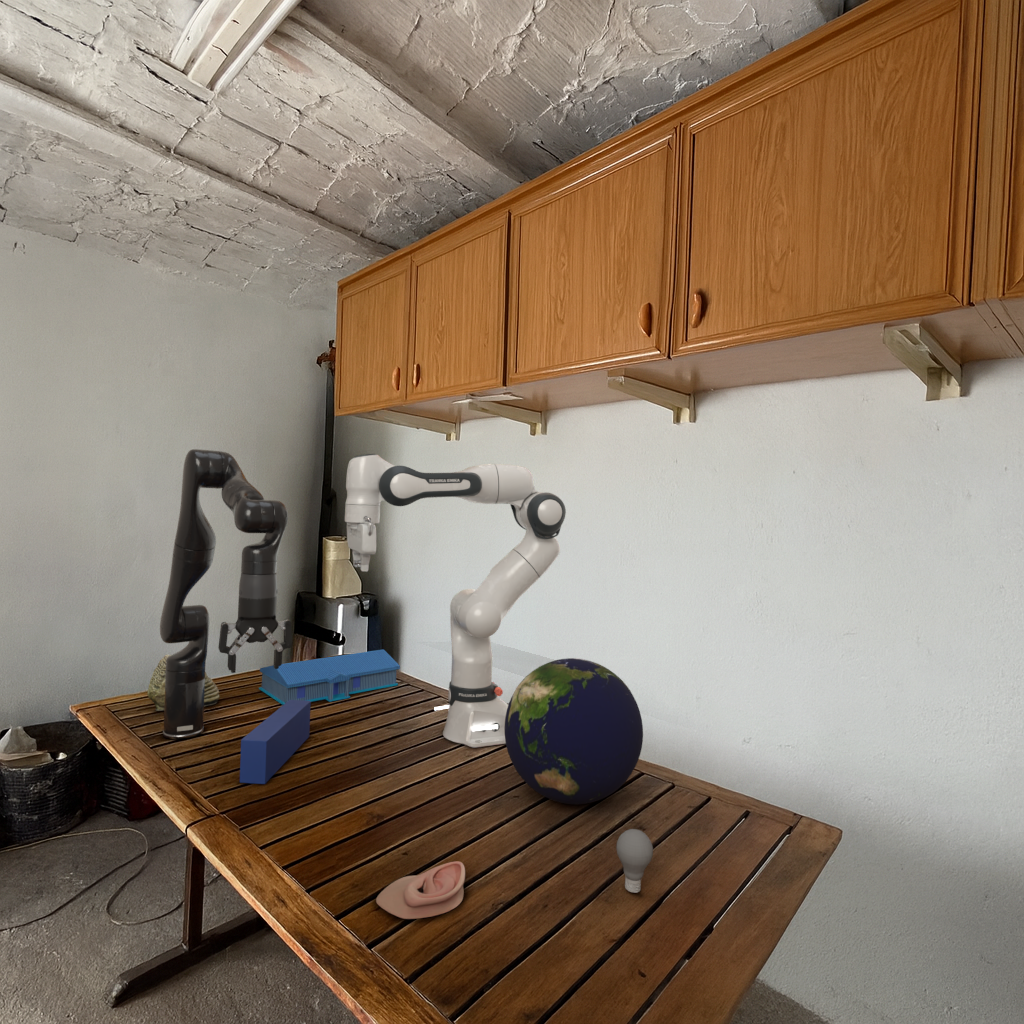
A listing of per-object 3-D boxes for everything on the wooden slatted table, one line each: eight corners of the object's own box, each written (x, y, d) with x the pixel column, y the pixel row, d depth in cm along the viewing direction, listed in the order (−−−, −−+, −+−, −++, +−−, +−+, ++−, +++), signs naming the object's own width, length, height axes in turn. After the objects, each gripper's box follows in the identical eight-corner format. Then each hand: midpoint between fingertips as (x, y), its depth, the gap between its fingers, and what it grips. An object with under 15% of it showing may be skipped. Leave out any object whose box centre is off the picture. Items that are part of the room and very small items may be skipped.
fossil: (144, 707, 182) (145, 655, 182) (212, 696, 194) (213, 647, 194) (151, 716, 175) (153, 662, 175) (221, 703, 188) (223, 653, 188)
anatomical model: (368, 886, 97) (397, 847, 108) (367, 912, 97) (396, 870, 108) (451, 901, 94) (471, 859, 106) (450, 928, 94) (470, 883, 106)
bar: (265, 784, 138) (266, 741, 138) (239, 782, 139) (241, 739, 138) (309, 736, 166) (310, 700, 166) (288, 735, 166) (289, 699, 166)
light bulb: (610, 879, 108) (613, 822, 108) (644, 879, 109) (647, 822, 109) (619, 902, 102) (622, 840, 102) (655, 901, 103) (658, 840, 103)
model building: (289, 709, 186) (291, 675, 185) (258, 688, 204) (259, 657, 204) (403, 687, 212) (405, 657, 212) (366, 670, 230) (368, 643, 230)
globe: (478, 811, 130) (485, 666, 129) (529, 759, 158) (535, 639, 157) (623, 847, 119) (630, 688, 118) (650, 784, 146) (656, 655, 146)
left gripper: (289, 590, 141) (286, 662, 141) (219, 592, 134) (216, 668, 134) (296, 596, 134) (293, 671, 135) (223, 598, 127) (219, 678, 128)
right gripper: (383, 518, 157) (381, 573, 157) (366, 514, 175) (365, 564, 175) (357, 517, 154) (355, 574, 154) (343, 514, 173) (341, 564, 173)
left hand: (254, 669), depth 134 cm, fingers open, 8 cm apart
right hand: (360, 569), depth 165 cm, fingers open, 8 cm apart
